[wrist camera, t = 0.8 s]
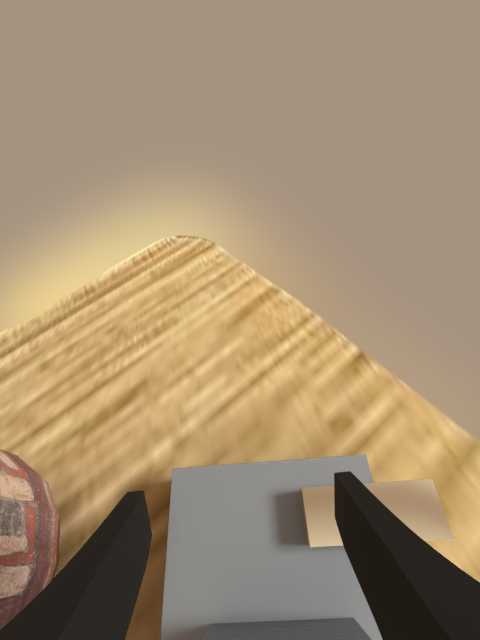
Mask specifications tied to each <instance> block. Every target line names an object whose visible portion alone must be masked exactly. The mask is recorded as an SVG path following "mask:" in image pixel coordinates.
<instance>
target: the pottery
mask: <svg viewBox="0 0 480 640" xmlns="http://www.w3.org/2000/svg"><path fill="white" fill-rule="evenodd" d="M59 535H60V518H59V514H58V511H57V508H56V505H55V503H54V500H53V497H52V494H51V491H50V488H49V485H48V483H47V482H46V481H45V480H44V479H43V478H42V477H41V476H40V475H38V474H37V473H36V472H35V471H34V470H33V469H32V468H31V467H30V466H28V465H27V464H26V463H25V462H24V461H23V460H22V459H21V458H20V457H19V456H17V455H14V454H12V453H9V452H7V451H4V450H0V630H1V629H2V628H3V627H4V626H5V625H6V624H7V623H8V622H10V621H11V620H12V619H13V618H14V617H15V616H16V615H17V614H18V613H20V612H21V611H22V610H23V609H24V608H25V607H26V606H27V605H28V604H29V603H30V602H31V601H32V600H33V599H34V598H35V597H36V596H37V595H38V594H39V593H40V592H41V591H42V590H43V589H44V588H45V587H46V586H47V585H48V584H49V583H50V582H51V581H52V580H53V577H54V574H55V571H56V568H57V565H58V554H59Z"/></svg>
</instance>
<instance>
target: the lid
mask: <svg viewBox="0 0 480 640" xmlns="http://www.w3.org/2000/svg"><path fill="white" fill-rule="evenodd" d="M347 471H350V472H352V473H353V474H354V475H355V476H356V477H357V478H358V479H359V480H360V481H361V482H362V483H363V484H365V483H373V480H372V476H371V472H370V468H369V465H368V461H367V457H366V454H363V455H350V456H337V457H323V458H310V459H296V460H283V461H270V462H256V463H243V464H229V465H216V466H203V467H189V468H176V469H172V482H171V497H170V511H169V525H168V539H167V553H166V567H165V581H164V596H163V610H162V624H161V638H160V640H383V639H382V637H381V634H380V631H379V629H378V626H377V624H376V622H375V619H374V617H373V615H372V612H371V610H370V608H369V605H368V603H367V601H366V598H365V596H364V593H363V591H362V589H361V586H360V584H359V582H358V579H357V577H356V575H355V572H354V570H353V568H352V565H351V563H350V561H349V558H348V556H347V553H346V551H345V549H344V546H325V547H309V546H308V540H307V533H306V526H305V519H304V513H303V506H302V499H301V492H300V490H301V488H307V487H322V486H334V473H337V472H347Z"/></svg>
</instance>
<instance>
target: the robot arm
mask: <svg viewBox="0 0 480 640" xmlns="http://www.w3.org/2000/svg"><path fill="white" fill-rule="evenodd" d="M334 503H335V520H336V523H337V527H338V530H339V533H340V536H341V539H342V542H343V546H344V549H345V551H346V553H347V556H348V558H349V561H350V563H351V565H352V568H353V570H354V572H355V575H356V577H357V579H358V582H359V584H360V586H361V589H362V591H363V593H364V596H365V598H366V601H367V603H368V605H369V608H370V610H371V612H372V615H373V617H374V619H375V622H376V624H377V626H378V629H379V631H380V634H381V637H382V639H383V640H480V583H479V582H478V581H477V580H475V579H474V578H472V577H471V576H469V575H468V574H467V573H465V572H464V571H462V570H461V569H460V568H458V567H457V566H456V565H454V564H453V563H452V562H450V561H449V560H448V559H446V558H445V557H444V556H442V555H441V554H440V553H438V552H437V551H436V550H435V549H433V548H432V547H431V546H430V545H429V544H427V543H426V542H425V541H424V540H423V539H421V538H420V537H419V536H418V535H417V534H416V533H414V532H413V531H412V530H411V529H410V528H409V527H408V526H406V525H405V524H404V523H403V522H402V521H401V520H400V519H399V518H398V517H397V516H395V515H394V514H393V513H392V512H391V511H390V510H389V509H388V508H387V507H386V506H385V505H384V504H383V503H382V502H381V501H380V500H379V499H378V498H377V497H376V496H375V495H374V494H373V493H372V492H370V490H369V489H368V488H367V487H366V486H365V485H364V484H363V483H362V482H361V481H360V480H359V479H358V478H357V477H356V476H355V475H354V474H353V473H352V472H350V471H347V472H337V473H334ZM151 537H152V533H151V528H150V522H149V517H148V511H147V506H146V501H145V495H144V491H135V492H127V493H126V494H125V496H124V497H123V498H122V499H121V500H120V502H119V503H118V504H117V505H116V507H115V508H114V509H113V510H112V512H111V513H110V514H109V515H108V517H107V518H106V519H105V520H104V522H103V523H102V524H101V525H100V526H99V528H98V529H97V530H96V531H95V532H94V534H93V535H92V536H91V537H90V538H89V540H88V541H87V542H86V543H85V544H84V546H83V547H82V548H81V549H80V550H79V551H78V552H77V554H76V555H75V556H74V557H73V558H72V559H71V560H70V561H69V562H68V563H67V565H66V566H65V567H64V568H63V569H62V570H61V571H60V572H59V573H58V575H57V576H56V577H55V578H54V579H53V580H52V581H51V582H50V583H49V584H48V585H47V586H46V587H45V588H44V589H43V590H42V591H41V592H40V593H39V594H38V595H37V596H36V597H35V598H34V599H33V600H32V601H31V602H30V603H29V604H28V605H27V606H26V607H25V608H24V609H23V610H22V611H21V612H20V613H18V614H17V615H16V616H15V617H14V618H13V619H12V620H11V621H10V622H8V623H7V624H6V625H5V626H4V627H3V628H2V629H1V630H0V640H125V637H126V633H127V630H128V627H129V623H130V620H131V616H132V613H133V610H134V606H135V603H136V600H137V596H138V593H139V589H140V586H141V582H142V579H143V575H144V572H145V568H146V564H147V559H148V554H149V548H150V542H151Z"/></svg>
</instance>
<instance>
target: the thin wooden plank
mask: <svg viewBox="0 0 480 640" xmlns="http://www.w3.org/2000/svg"><path fill="white" fill-rule="evenodd" d="M364 485H365V486H366V487H367V488H368V489H369V490H370V492H372V493H373V494H374V495H375V496H376V497H377V498H378V499H379V500H380V501H381V502H382V503H383V504H384V505H385V506H386V507H387V508H388V509H389V510H390V511H391V512H392V513H393V514H394V515H395V516H397V517H398V518H399V519H400V520H401V521H402V522H403V523H404V524H405V525H406V526H408V527H409V528H410V529H411V530H412V531H413V532H414V533H416V534H417V535H418V536H419V537H420V538H421V539H423V540H424V541H431V540H449V539H454V537H453V534H452V531H451V529H450V526H449V523H448V521H447V518H446V515H445V513H444V510H443V507H442V504H441V502H440V499H439V496H438V494H437V491H436V488H435V486H434V483H433V480H432V479H424V480H409V481H395V482H380V483H365V484H364ZM300 492H301V499H302V506H303V513H304V519H305V526H306V533H307V540H308V546H309V547H325V546H343V542H342V539H341V536H340V533H339V530H338V527H337V523H336V520H335V503H334V486H322V487H307V488H301V490H300Z"/></svg>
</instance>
